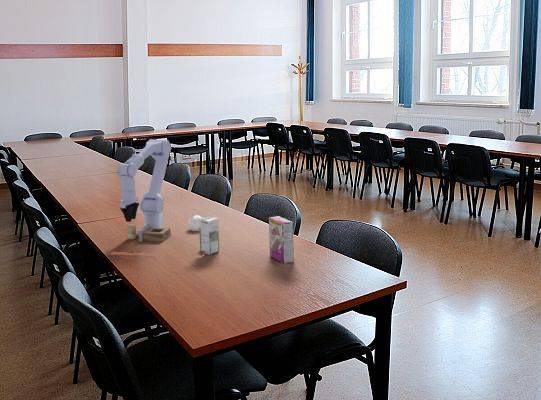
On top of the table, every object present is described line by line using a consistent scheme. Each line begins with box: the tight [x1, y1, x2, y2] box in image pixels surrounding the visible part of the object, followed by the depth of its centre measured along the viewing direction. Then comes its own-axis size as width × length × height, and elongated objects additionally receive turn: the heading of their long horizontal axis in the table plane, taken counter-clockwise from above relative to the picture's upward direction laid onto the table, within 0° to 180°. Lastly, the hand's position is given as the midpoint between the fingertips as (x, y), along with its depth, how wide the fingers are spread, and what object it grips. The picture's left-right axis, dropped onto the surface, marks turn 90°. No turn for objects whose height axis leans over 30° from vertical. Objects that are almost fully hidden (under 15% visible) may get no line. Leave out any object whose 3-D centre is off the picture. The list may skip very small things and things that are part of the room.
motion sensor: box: [187, 214, 204, 232], centre depth 261 cm, size 8×8×8 cm
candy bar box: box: [268, 215, 295, 265], centre depth 218 cm, size 11×5×16 cm, turn 30°
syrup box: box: [198, 216, 220, 256], centre depth 229 cm, size 6×6×14 cm
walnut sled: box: [143, 227, 172, 243], centre depth 249 cm, size 10×9×4 cm
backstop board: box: [138, 224, 151, 243], centre depth 248 cm, size 11×20×6 cm, turn 80°
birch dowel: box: [126, 223, 137, 240], centre depth 250 cm, size 4×4×7 cm
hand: (130, 220), depth 248 cm, fingers open, 4 cm apart
